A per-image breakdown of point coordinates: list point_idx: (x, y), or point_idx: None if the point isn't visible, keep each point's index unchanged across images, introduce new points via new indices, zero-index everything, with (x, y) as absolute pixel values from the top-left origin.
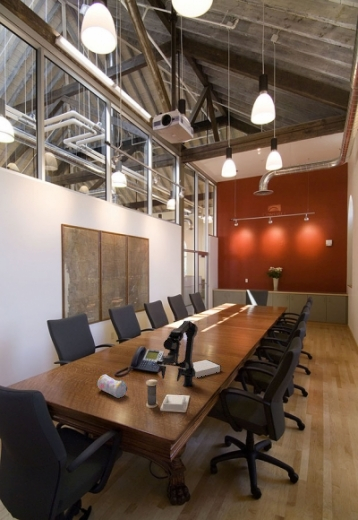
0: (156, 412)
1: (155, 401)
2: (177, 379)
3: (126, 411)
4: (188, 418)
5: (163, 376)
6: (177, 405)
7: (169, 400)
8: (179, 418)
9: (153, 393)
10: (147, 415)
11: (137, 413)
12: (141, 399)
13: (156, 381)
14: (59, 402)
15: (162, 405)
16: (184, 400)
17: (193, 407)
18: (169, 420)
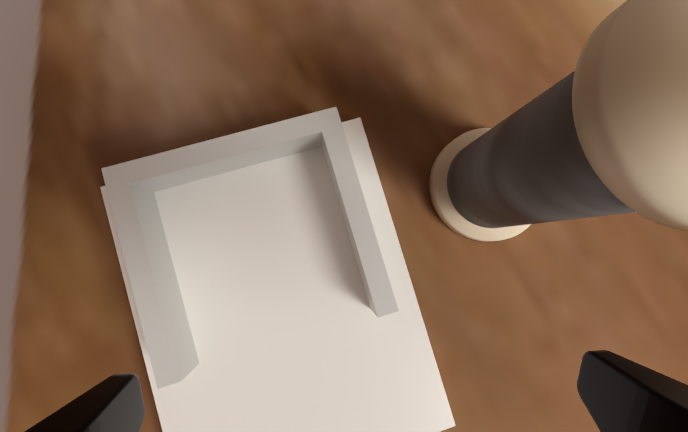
0: (373, 86)
1: (457, 170)
2: (87, 400)
3: (615, 7)
4: (48, 101)
5: (634, 404)
6: (171, 153)
7: (354, 305)
8: (129, 71)
9: (517, 114)
10: (418, 15)
11: (513, 12)
12: (636, 245)
13: (643, 148)
14: None
15: (369, 178)
16: (138, 296)
17: (73, 313)
18: (201, 11)
